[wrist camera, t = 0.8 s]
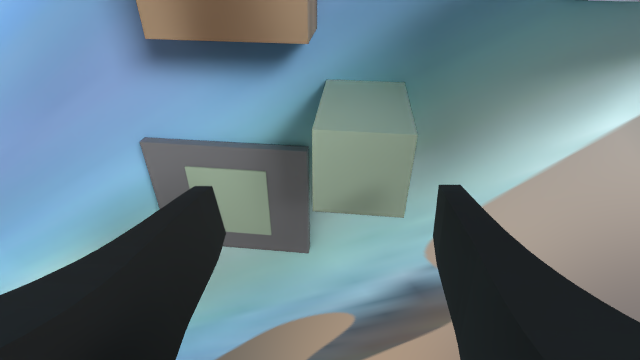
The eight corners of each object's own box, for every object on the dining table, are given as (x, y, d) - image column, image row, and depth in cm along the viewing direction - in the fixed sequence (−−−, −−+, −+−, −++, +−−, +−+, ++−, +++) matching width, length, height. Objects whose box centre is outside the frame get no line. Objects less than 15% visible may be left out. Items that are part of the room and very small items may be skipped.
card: (308, 146, 21) (306, 152, 21) (309, 247, 26) (308, 254, 25) (144, 137, 22) (138, 142, 22) (173, 236, 27) (169, 242, 26)
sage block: (404, 82, 19) (417, 134, 14) (395, 151, 21) (403, 217, 16) (326, 79, 19) (311, 129, 14) (325, 147, 21) (312, 211, 16)
